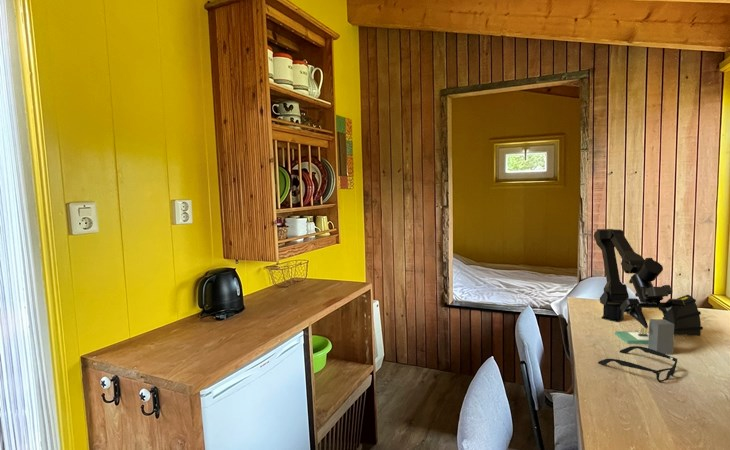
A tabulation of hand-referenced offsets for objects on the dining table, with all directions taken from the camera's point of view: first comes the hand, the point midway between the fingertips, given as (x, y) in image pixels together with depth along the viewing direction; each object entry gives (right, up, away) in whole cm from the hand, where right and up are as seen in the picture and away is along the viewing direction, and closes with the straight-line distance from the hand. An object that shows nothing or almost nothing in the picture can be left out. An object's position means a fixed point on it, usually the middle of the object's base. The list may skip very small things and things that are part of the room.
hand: (661, 327), depth 137 cm
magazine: (+18, -6, +15) cm, 25 cm away
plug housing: (0, -8, +1) cm, 8 cm away
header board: (+1, -7, +11) cm, 13 cm away
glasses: (-15, -11, -10) cm, 21 cm away
